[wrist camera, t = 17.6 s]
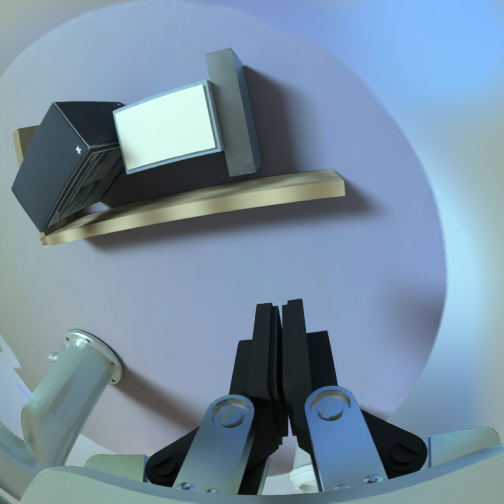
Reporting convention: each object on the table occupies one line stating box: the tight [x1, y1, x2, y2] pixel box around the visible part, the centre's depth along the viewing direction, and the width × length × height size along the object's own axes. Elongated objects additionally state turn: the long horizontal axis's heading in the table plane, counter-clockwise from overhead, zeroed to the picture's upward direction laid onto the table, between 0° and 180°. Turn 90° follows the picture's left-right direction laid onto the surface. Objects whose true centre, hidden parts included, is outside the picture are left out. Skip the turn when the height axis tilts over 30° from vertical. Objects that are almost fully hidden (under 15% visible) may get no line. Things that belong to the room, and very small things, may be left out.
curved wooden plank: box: [13, 125, 345, 248], centre depth 24 cm, size 32×14×6 cm, turn 101°
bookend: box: [205, 48, 262, 177], centre depth 22 cm, size 2×10×6 cm, turn 10°
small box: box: [11, 101, 125, 233], centre depth 23 cm, size 11×6×10 cm, turn 131°
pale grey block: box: [113, 79, 224, 174], centre depth 22 cm, size 8×6×8 cm
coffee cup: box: [289, 442, 318, 493], centre depth 34 cm, size 10×10×15 cm
